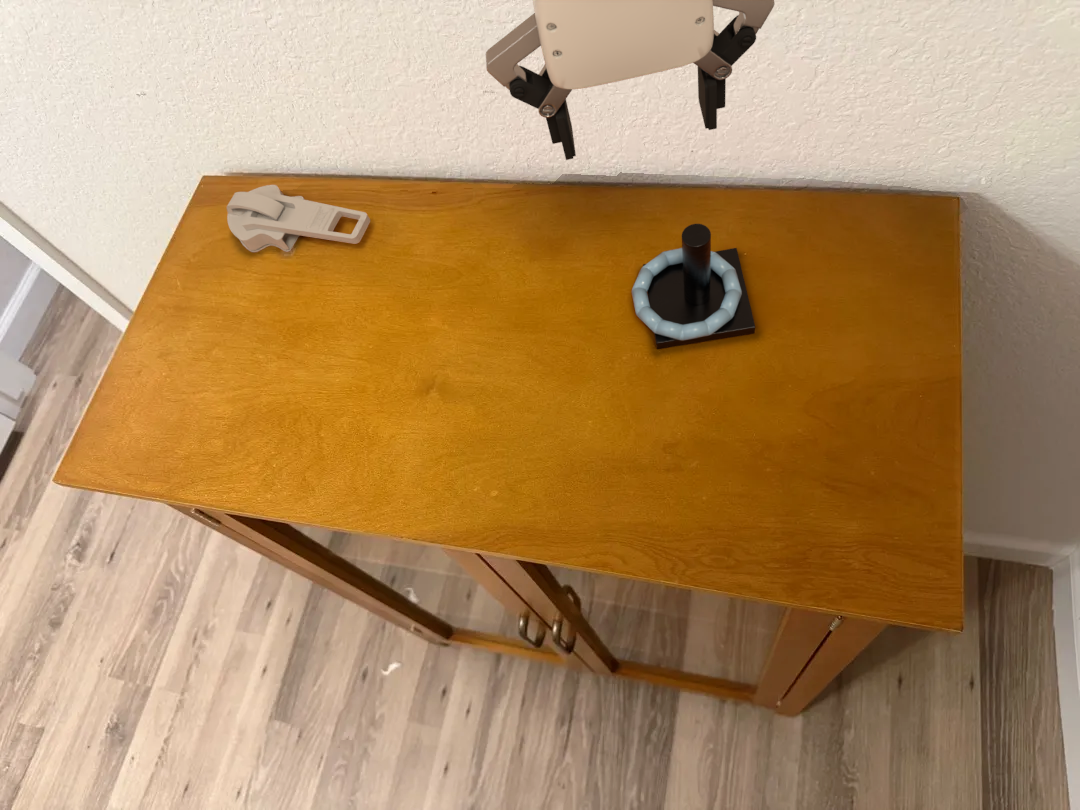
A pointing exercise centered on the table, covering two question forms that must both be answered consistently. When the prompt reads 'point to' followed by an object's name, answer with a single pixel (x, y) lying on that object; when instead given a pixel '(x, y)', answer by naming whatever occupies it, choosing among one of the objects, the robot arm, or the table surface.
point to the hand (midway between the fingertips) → (637, 129)
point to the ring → (690, 329)
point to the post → (698, 290)
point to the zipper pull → (286, 219)
